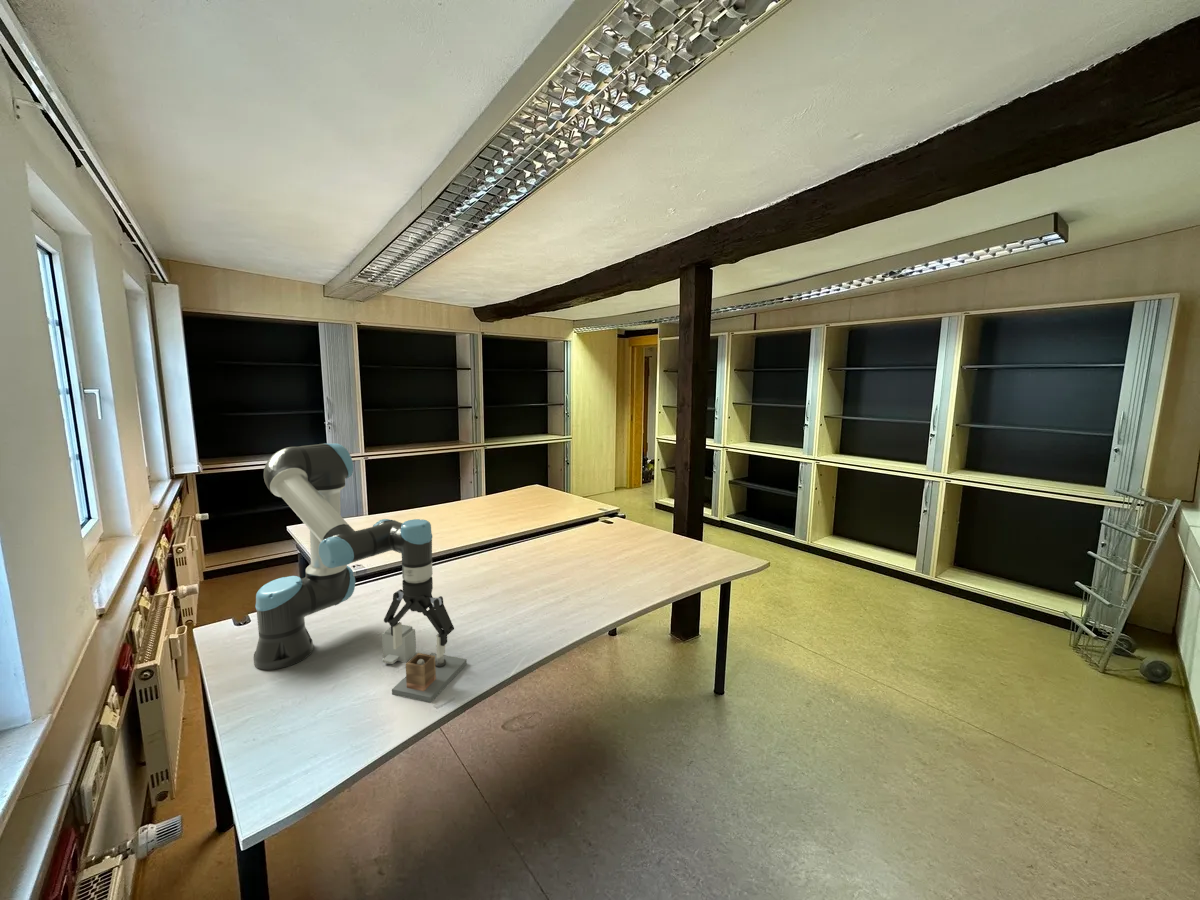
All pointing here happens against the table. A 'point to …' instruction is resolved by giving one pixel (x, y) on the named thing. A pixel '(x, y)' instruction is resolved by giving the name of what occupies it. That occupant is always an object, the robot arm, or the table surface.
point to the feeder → (402, 651)
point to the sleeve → (420, 672)
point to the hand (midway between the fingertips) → (419, 650)
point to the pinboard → (444, 674)
